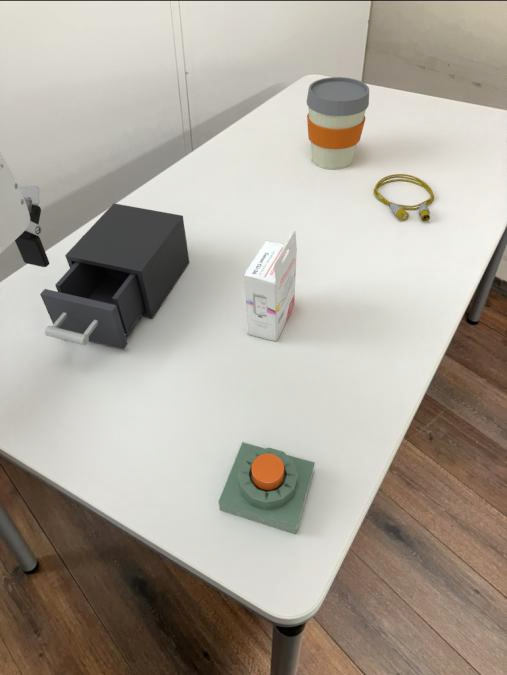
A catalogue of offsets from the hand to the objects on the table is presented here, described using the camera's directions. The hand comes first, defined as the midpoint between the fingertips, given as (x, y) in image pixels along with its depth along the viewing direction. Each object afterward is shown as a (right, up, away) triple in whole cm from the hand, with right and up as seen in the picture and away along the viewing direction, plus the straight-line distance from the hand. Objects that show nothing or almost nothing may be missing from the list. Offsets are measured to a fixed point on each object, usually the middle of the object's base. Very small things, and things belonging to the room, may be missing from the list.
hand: (12, 289), depth 58 cm
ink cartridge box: (+30, -3, +21) cm, 37 cm away
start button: (+29, -21, -1) cm, 36 cm away
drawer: (+5, -3, +21) cm, 21 cm away
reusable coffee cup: (+45, +34, +55) cm, 79 cm away
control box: (+29, -23, +2) cm, 37 cm away
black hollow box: (+8, +4, +28) cm, 29 cm away
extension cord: (+57, +22, +44) cm, 75 cm away
